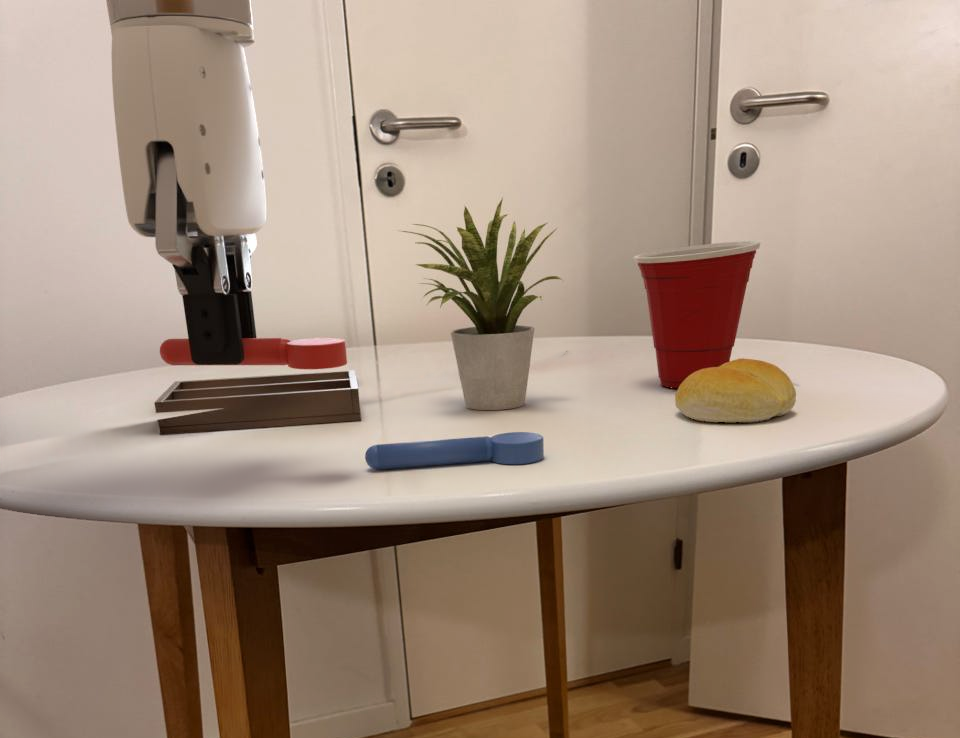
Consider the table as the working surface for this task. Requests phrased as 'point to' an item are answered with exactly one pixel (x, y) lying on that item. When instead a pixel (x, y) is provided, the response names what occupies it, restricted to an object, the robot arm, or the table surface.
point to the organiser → (260, 402)
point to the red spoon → (271, 352)
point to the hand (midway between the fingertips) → (225, 359)
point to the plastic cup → (695, 304)
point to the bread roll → (736, 392)
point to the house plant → (490, 314)
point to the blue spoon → (458, 451)
